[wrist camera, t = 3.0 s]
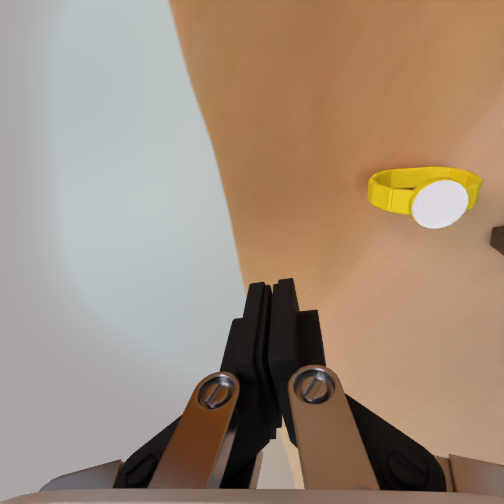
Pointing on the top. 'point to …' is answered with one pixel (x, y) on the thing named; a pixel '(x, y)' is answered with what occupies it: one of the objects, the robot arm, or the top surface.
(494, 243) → the bay
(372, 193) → the watch
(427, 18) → the top surface
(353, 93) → the top surface
